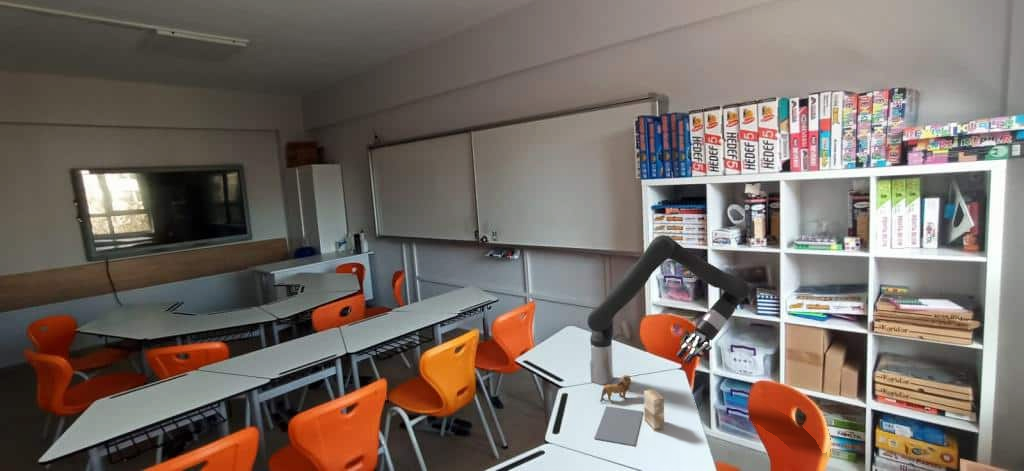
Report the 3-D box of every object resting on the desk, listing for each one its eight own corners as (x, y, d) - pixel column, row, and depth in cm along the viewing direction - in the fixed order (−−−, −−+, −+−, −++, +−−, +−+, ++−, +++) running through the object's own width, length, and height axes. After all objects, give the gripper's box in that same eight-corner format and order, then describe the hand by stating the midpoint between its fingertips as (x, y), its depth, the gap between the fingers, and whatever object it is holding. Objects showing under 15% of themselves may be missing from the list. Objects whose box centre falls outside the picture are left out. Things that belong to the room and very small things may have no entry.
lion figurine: (626, 391, 194) (626, 371, 192) (634, 397, 189) (634, 377, 187) (596, 400, 189) (596, 380, 187) (603, 406, 184) (603, 385, 182)
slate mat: (594, 439, 163) (594, 438, 163) (606, 407, 183) (606, 406, 183) (634, 446, 158) (634, 445, 158) (642, 412, 178) (642, 411, 178)
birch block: (654, 430, 166) (653, 400, 164) (644, 420, 172) (644, 390, 170) (664, 428, 167) (663, 398, 165) (654, 418, 173) (653, 389, 171)
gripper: (693, 312, 177) (665, 347, 177) (717, 325, 164) (686, 362, 163) (705, 323, 179) (677, 357, 179) (729, 336, 166) (700, 373, 165)
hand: (682, 359), depth 171 cm, fingers open, 4 cm apart
